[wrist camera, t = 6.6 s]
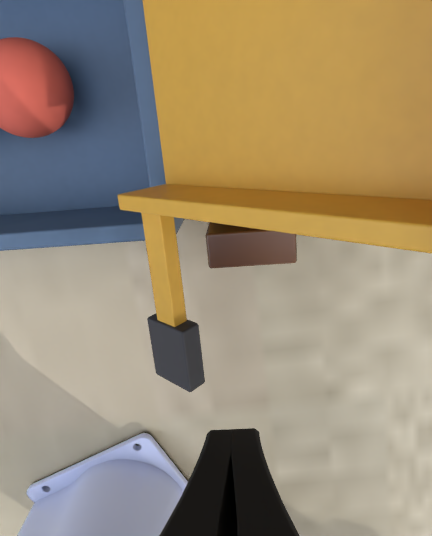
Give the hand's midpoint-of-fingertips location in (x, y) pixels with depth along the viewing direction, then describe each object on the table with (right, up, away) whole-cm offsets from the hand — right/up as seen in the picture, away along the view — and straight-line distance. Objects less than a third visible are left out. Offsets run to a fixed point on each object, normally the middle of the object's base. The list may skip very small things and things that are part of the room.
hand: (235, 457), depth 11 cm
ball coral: (-8, +12, +5) cm, 15 cm away
